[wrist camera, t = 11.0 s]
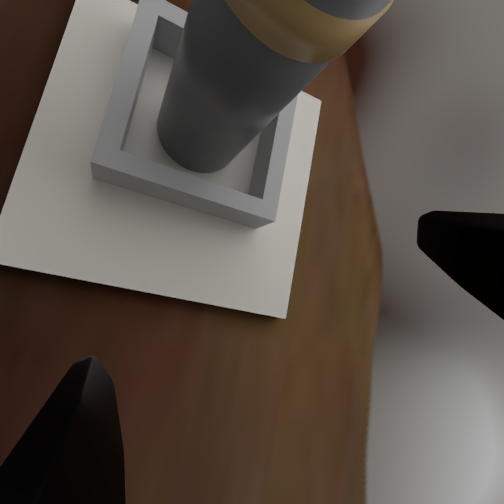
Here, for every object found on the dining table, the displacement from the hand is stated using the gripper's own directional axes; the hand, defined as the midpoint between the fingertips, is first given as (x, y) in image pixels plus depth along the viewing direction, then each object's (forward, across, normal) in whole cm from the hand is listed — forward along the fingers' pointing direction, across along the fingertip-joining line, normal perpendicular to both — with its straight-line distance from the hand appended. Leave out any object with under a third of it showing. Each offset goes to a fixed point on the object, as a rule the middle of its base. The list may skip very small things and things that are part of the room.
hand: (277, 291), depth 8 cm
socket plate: (+14, 0, 0) cm, 14 cm away
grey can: (+14, -2, -2) cm, 14 cm away
